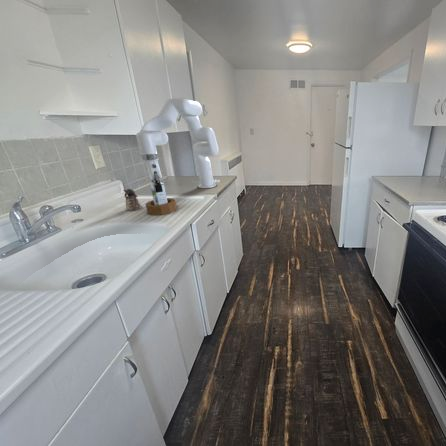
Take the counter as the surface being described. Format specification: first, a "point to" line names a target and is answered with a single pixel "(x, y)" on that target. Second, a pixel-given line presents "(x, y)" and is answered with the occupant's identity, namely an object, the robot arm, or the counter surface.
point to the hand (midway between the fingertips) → (158, 190)
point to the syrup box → (158, 194)
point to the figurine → (131, 200)
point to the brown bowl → (161, 207)
